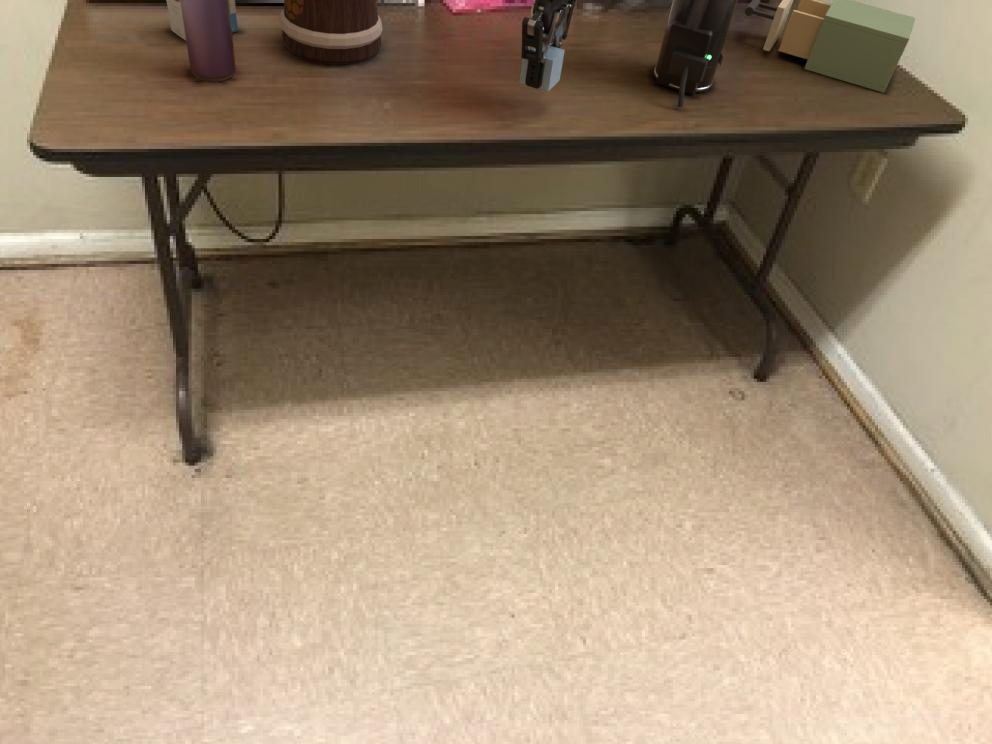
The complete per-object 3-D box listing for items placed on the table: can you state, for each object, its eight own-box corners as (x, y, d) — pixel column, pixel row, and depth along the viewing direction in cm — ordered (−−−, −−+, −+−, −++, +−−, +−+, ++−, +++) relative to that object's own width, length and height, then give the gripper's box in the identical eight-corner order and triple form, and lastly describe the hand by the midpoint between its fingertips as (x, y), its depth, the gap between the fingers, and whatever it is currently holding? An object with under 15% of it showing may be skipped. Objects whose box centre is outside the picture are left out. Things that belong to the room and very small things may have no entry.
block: (548, 91, 113) (553, 60, 110) (519, 83, 114) (523, 51, 111) (559, 80, 116) (564, 49, 113) (531, 72, 117) (535, 41, 114)
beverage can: (224, 86, 110) (211, -31, 100) (182, 77, 111) (165, -40, 100) (243, 69, 115) (232, -45, 104) (203, 60, 115) (188, -54, 105)
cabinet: (804, 69, 140) (825, 15, 133) (815, 47, 148) (836, -5, 141) (883, 92, 136) (909, 38, 130) (891, 69, 144) (915, 17, 138)
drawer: (732, 40, 143) (746, -3, 138) (746, 23, 150) (760, -19, 145) (834, 70, 138) (852, 27, 133) (843, 51, 145) (860, 9, 140)
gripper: (552, -71, 108) (534, 55, 120) (509, -44, 99) (494, 91, 110) (605, -58, 107) (581, 69, 118) (567, -29, 97) (545, 106, 109)
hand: (539, 79), depth 114 cm, fingers closed on block, 4 cm apart
